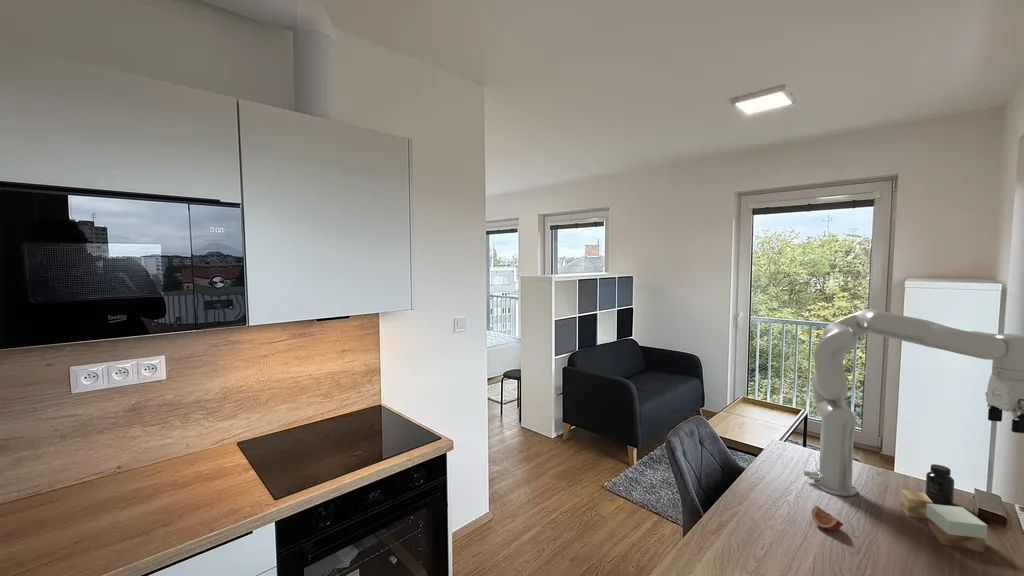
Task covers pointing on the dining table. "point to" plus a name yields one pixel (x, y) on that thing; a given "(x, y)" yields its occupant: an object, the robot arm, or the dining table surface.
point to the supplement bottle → (940, 485)
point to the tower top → (956, 521)
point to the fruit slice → (825, 519)
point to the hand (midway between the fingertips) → (1006, 426)
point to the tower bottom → (957, 539)
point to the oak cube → (914, 503)
